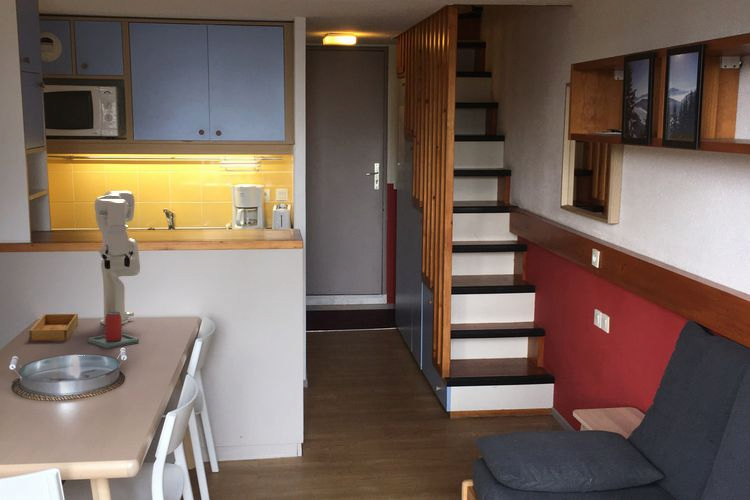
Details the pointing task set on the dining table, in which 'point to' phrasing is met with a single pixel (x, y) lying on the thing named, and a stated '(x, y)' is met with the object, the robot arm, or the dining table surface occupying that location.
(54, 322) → the tray
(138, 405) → the dining table surface
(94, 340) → the slate tray
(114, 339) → the beer can
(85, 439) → the dining table surface
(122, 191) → the robot arm
